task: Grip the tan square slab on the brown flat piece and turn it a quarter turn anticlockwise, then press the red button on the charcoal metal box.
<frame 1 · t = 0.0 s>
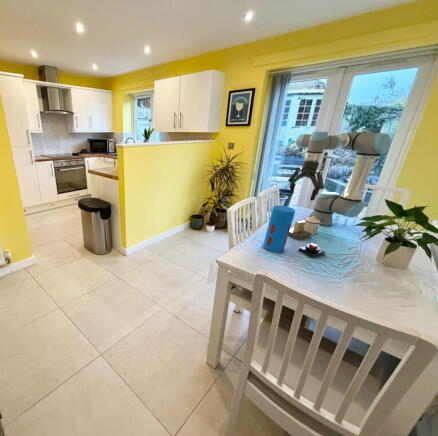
hand: (301, 196, 135), 28 cm above the table, tool pointing down, fingers open, 13 cm apart
brown flat piece: (296, 235, 150), on the table
tan square slab: (299, 226, 148), point 7 cm above the table, hinge at 0.0°
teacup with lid: (308, 231, 157), on the table
thermos: (272, 248, 133), on the table
button: (313, 246, 128), point 4 cm above the table, slide at 0.1 cm
button box: (311, 252, 129), on the table
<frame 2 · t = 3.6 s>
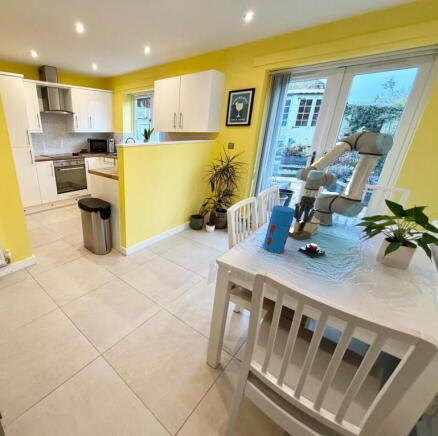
hand: (298, 230, 149), 4 cm above the table, tool pointing down, fingers closed on tan square slab, 2 cm apart
tan square slab: (299, 226, 148), point 7 cm above the table, hinge at 0.0°, touching gripper
everything else where it was.
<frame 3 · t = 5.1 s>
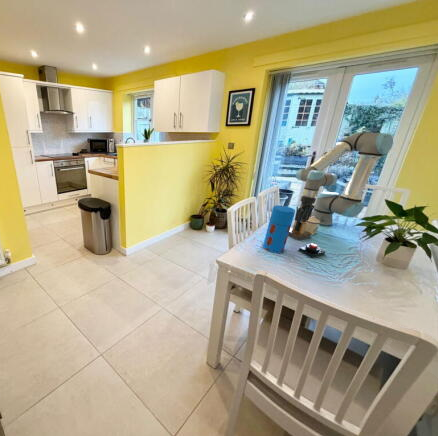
hand: (298, 230, 149), 4 cm above the table, tool pointing down, fingers open, 2 cm apart
tan square slab: (299, 226, 148), point 7 cm above the table, hinge at 89.2°
everything else where it was.
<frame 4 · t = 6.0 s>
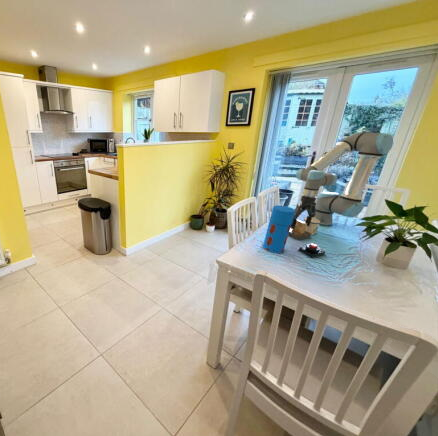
hand: (299, 227, 148), 6 cm above the table, tool pointing down, fingers open, 13 cm apart
nothing on the table moved.
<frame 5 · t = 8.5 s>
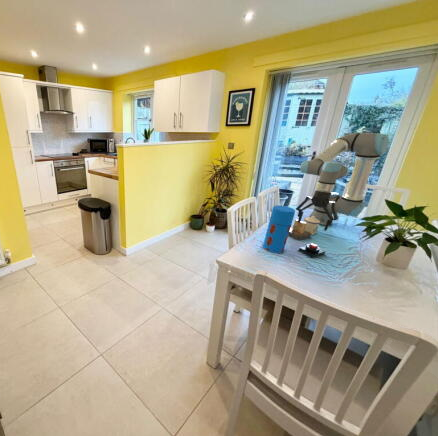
hand: (311, 225, 132), 13 cm above the table, tool pointing down, fingers open, 13 cm apart
nothing on the table moved.
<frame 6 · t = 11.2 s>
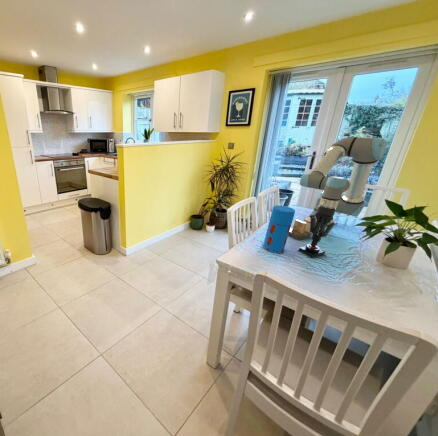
hand: (313, 245, 128), 5 cm above the table, tool pointing down, fingers closed
button: (312, 247, 128), point 4 cm above the table, slide at -0.8 cm, touching gripper
everything else where it was.
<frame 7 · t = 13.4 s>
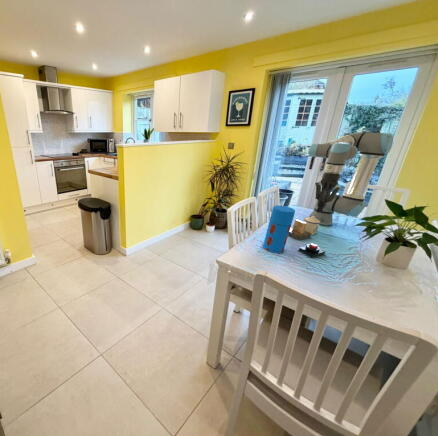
hand: (319, 211, 134), 20 cm above the table, tool pointing down, fingers closed
button: (313, 246, 128), point 4 cm above the table, slide at 0.1 cm
everything else where it was.
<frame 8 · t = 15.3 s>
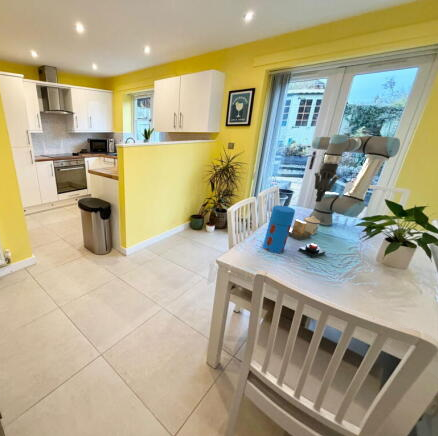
hand: (318, 201, 140), 24 cm above the table, tool pointing down, fingers closed
nothing on the table moved.
at the end: tan square slab at +89° (first picture: +0°); button pushed in 1.0 cm at the most during the clip, back to where it started at the end; button slide at 0.1 cm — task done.
